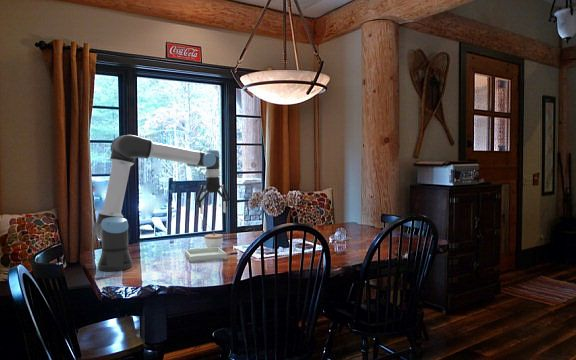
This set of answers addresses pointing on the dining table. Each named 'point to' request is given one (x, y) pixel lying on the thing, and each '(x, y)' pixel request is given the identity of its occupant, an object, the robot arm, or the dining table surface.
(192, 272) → the dining table surface
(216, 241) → the lidded jar
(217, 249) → the sage bin
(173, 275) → the dining table surface
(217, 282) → the dining table surface
